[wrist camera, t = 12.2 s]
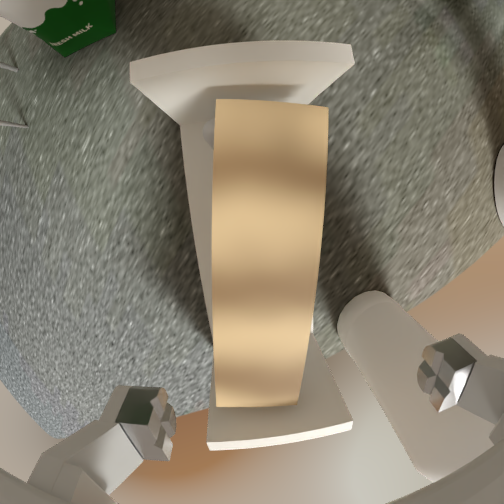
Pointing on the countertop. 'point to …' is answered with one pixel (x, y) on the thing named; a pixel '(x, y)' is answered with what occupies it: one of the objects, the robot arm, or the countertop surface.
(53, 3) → the milk carton
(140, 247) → the countertop surface
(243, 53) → the shelf unit
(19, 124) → the juicer
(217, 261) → the shelf board
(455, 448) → the bottle
